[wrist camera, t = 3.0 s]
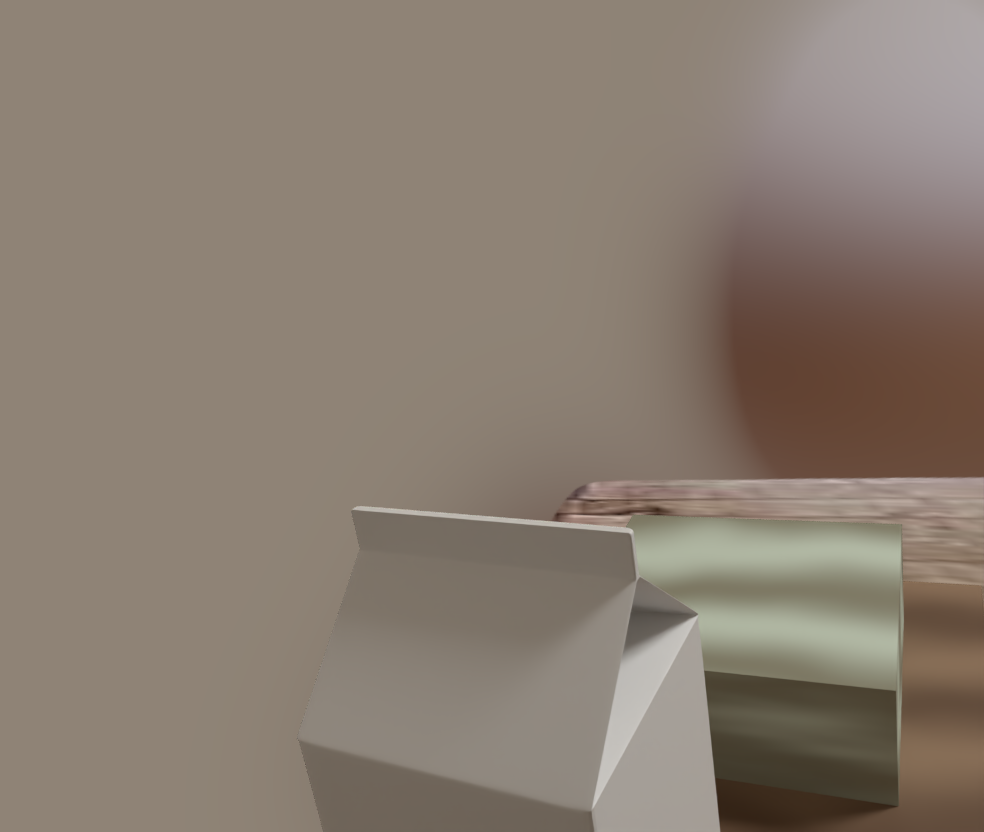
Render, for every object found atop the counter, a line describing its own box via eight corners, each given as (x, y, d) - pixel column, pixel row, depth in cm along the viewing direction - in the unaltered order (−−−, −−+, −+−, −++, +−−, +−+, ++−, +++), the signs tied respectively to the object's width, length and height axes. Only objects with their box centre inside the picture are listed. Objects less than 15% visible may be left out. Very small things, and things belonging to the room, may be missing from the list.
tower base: (603, 580, 55) (590, 486, 53) (980, 606, 46) (981, 495, 45) (462, 821, 38) (435, 695, 36) (1016, 931, 29) (1020, 774, 28)
